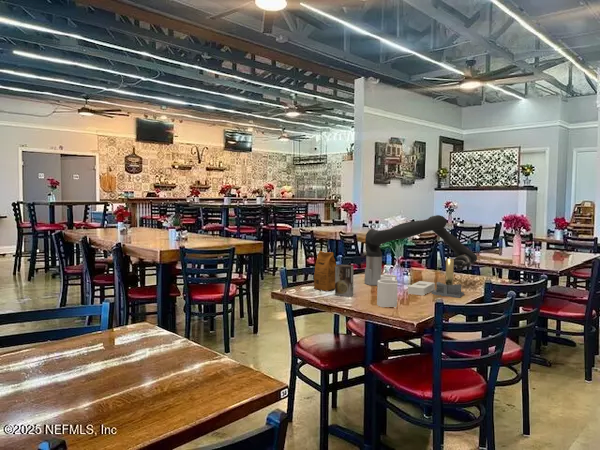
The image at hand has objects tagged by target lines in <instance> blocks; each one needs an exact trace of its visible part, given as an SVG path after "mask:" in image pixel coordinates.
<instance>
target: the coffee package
mask: <svg viewBox="0 0 600 450" xmlns="http://www.w3.org/2000/svg"><path fill="white" fill-rule="evenodd" d="M334 255H335V253H334V252H332V251H331V252H330V251H329V252H328V251H327V252H325V251H322V250H319V252H318V254H317V257H316V262H315V264H314V273H313V274H314V275H313V280H314V281H313V283H314V284H313V289H314V290H319V291H321V290H322V291H323V292H330V291H331V290H332V291H333V290H335V266H337V265H338V264H337V263H336V262H337V261H336V259H335V257H334Z"/></svg>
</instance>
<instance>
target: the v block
mask: <svg viewBox="0 0 600 450" xmlns="http://www.w3.org/2000/svg"><path fill="white" fill-rule="evenodd" d="M432 294H434V295H435V296H440V295H441V297H448V298H456V299H460V298H462V297H463V296H465V292H464V291H462V284H460V283H459V284H458V283H456V284H454V283H453V284H452V285H446V284H445V283H443V282H440V281H436V284H435V290H433V291H431V295H432ZM434 295H433V296H434Z"/></svg>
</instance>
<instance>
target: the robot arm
mask: <svg viewBox="0 0 600 450" xmlns="http://www.w3.org/2000/svg"><path fill="white" fill-rule="evenodd" d="M447 223H448V221H447V219H446V217H445V216H443V215H439V214H436V215H432V216H430V217H428V218H427V219H423V220H413V221H407V222H402V223H399V224H397V225H395V226H393V227H392V228H387V229H382V230H378V229H377V230H376V229H370V230H368V231H367V232H366V234H365V238H364V239H365V241H364V243H365V247H364V248H365V253H366V256H365V257H366V258H365V259H366V261H365V263H366V264H365V266H366V267H365V268H364V284H365V285H368V286H377V283H378V280H380V276H381V275H382V265H383V262H382V259H383V258H382V255H383V252H382V251H381V245H384V244H385V243H389V242H391V241H398V240H402V239H403V240H404V239H407V238H411V237H415V236H418V235H421V234H423V233H427V232H431V231H432V232H433V233H434V234H436V235H437V236H438V237H440V238H441V239H442V241H444V243H446V244H447V246H448V247H449V248H450V249H451V250H452V251H453V252H454V253H455V254H456V255H457V256H456V257H454V258H453V259H454V267H455V268H456V269H459V270H462V269H464V268H471V267H472V264H474V263H475V262H476V261H477V260H478V256H477V254H476V253H475V252H473V251H472V250H470V249H469V248H468V247H466V246H465V245H464V244H463V243H462V242H461V241H460V240H459V238H458V237H456V236H454V235H453V234H452V233H451V232H449V231H448V230H447V229H446V226H447ZM444 266H446V260H444Z"/></svg>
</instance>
